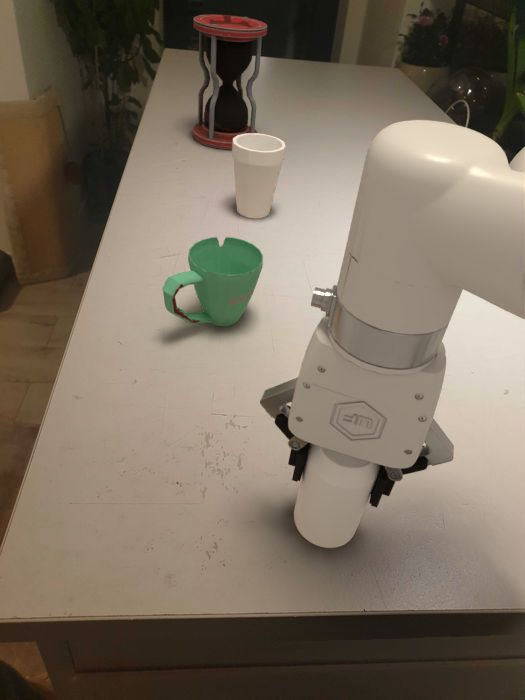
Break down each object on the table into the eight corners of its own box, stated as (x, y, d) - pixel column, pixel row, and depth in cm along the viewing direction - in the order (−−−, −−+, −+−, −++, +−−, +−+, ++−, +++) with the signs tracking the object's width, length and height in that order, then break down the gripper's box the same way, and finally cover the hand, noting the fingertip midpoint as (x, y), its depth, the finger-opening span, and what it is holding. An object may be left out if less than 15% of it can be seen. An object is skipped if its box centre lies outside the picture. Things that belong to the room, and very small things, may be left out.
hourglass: (268, 136, 134) (279, 23, 118) (239, 155, 122) (247, 32, 106) (212, 122, 138) (216, 11, 122) (179, 139, 127) (178, 18, 111)
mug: (225, 288, 80) (229, 229, 74) (271, 319, 75) (279, 259, 69) (145, 324, 72) (141, 261, 65) (190, 362, 67) (190, 298, 60)
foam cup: (279, 204, 105) (288, 137, 96) (274, 225, 98) (283, 155, 89) (232, 197, 105) (236, 130, 97) (224, 217, 98) (228, 147, 90)
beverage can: (283, 502, 53) (300, 423, 45) (339, 489, 54) (365, 410, 47) (306, 560, 48) (329, 482, 40) (366, 543, 50) (399, 466, 42)
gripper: (246, 319, 34) (231, 484, 46) (523, 395, 31) (431, 550, 43) (279, 264, 40) (258, 423, 51) (516, 323, 37) (436, 478, 48)
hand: (337, 479), depth 47 cm, fingers closed on beverage can, 6 cm apart
